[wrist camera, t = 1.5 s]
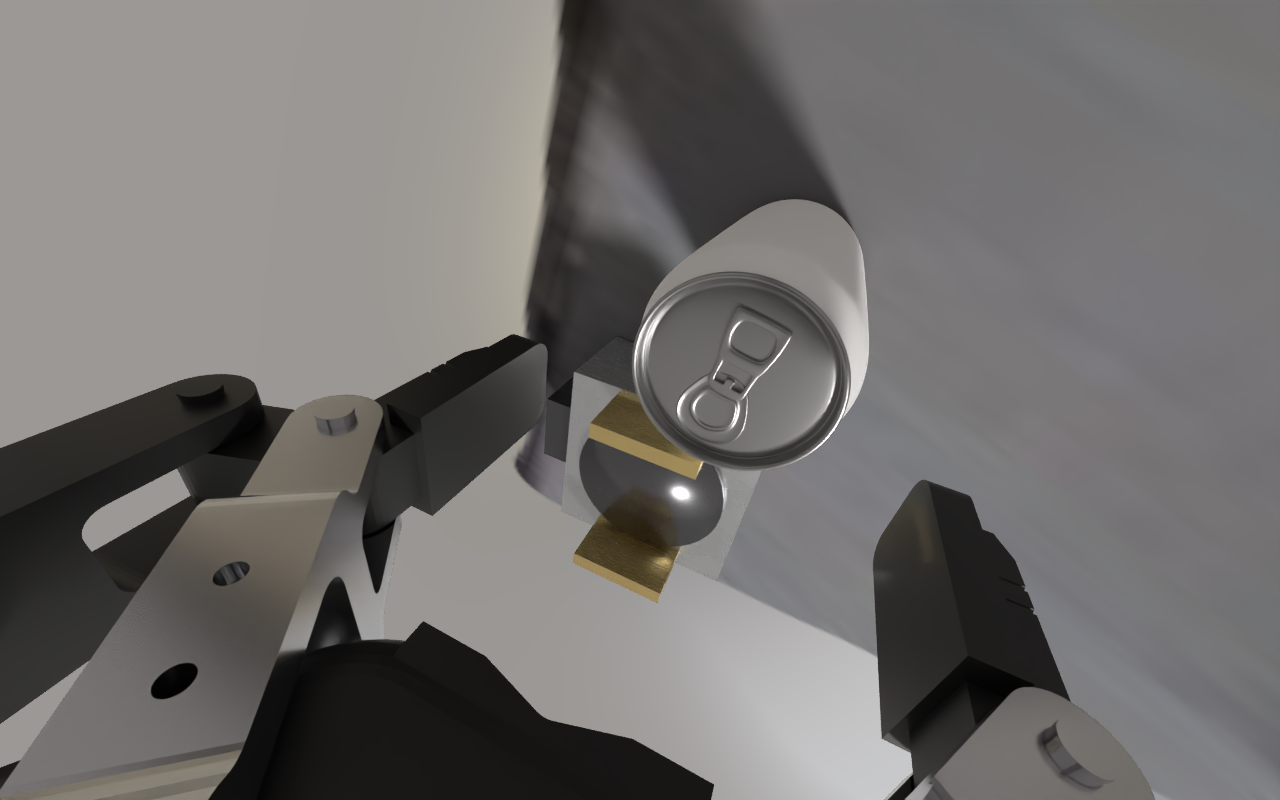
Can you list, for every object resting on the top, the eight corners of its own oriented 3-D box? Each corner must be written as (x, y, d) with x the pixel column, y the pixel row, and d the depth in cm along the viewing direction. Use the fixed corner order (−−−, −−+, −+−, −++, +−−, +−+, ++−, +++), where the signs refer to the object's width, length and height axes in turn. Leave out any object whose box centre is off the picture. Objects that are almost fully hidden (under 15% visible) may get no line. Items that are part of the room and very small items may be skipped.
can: (698, 301, 24) (590, 412, 14) (757, 172, 20) (666, 203, 10) (812, 360, 23) (781, 522, 13) (897, 237, 19) (940, 337, 9)
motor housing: (586, 326, 27) (502, 384, 21) (786, 393, 24) (761, 485, 18) (573, 454, 32) (503, 532, 26) (735, 520, 30) (702, 627, 23)
